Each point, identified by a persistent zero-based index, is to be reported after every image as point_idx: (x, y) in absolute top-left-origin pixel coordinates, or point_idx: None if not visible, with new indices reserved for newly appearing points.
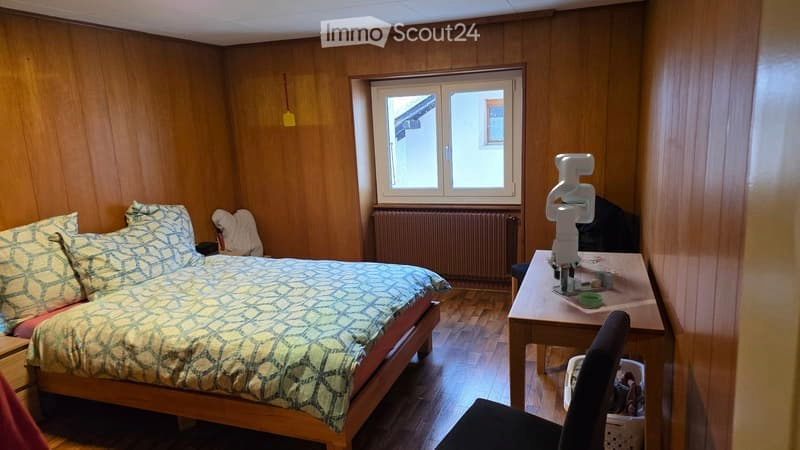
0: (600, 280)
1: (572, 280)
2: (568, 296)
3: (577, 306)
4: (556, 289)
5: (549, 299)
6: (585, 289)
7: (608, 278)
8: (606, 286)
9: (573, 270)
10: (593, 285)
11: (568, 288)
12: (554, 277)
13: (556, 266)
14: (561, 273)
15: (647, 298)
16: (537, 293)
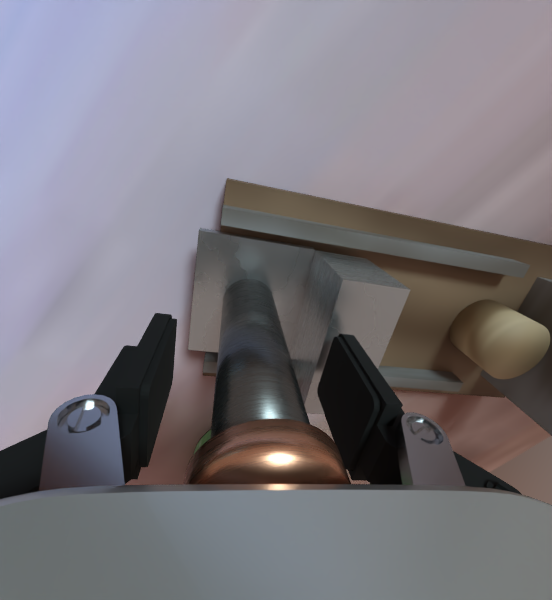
0: (526, 367)
1: (310, 376)
2: (206, 375)
3: (185, 438)
4: (200, 274)
5: (102, 306)
6: (395, 327)
7: (543, 425)
8: (494, 379)
9: (348, 464)
10: (462, 341)
11: (296, 298)
12: (155, 315)
13: (112, 462)
14: (215, 393)
15: (498, 462)
16: (83, 152)
